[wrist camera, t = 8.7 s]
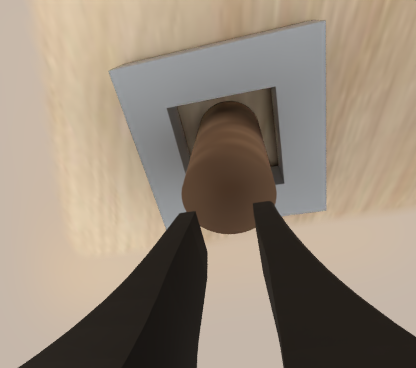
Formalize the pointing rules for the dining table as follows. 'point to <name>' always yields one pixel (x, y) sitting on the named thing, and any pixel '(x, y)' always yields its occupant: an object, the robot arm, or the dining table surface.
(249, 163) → the plug
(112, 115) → the dining table surface
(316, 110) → the socket block
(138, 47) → the dining table surface
